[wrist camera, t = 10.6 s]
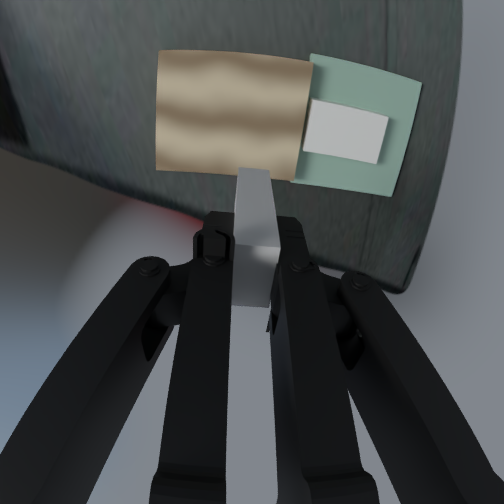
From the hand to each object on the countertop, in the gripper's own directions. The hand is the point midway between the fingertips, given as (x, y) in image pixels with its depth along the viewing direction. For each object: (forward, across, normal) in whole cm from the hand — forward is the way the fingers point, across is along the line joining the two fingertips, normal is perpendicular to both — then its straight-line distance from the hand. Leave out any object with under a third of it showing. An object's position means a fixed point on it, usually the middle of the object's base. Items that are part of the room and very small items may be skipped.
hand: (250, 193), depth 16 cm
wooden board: (+22, -2, 0) cm, 22 cm away
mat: (+22, +13, 0) cm, 26 cm away
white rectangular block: (+21, +11, 0) cm, 24 cm away
